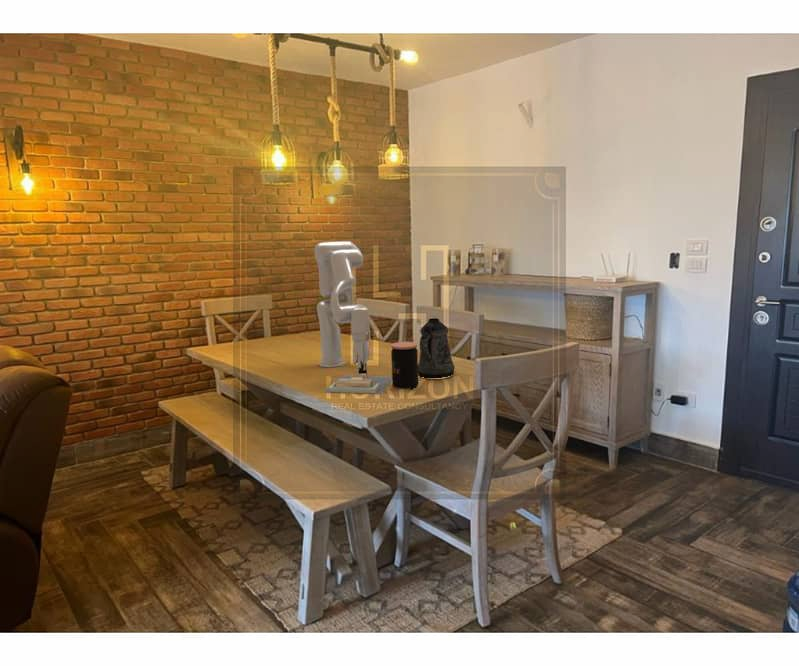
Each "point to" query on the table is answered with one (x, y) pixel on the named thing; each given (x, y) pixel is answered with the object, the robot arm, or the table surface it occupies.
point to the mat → (378, 387)
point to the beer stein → (435, 351)
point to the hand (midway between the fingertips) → (362, 378)
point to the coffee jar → (404, 365)
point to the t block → (355, 381)
